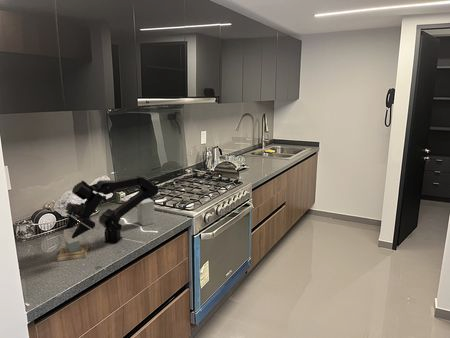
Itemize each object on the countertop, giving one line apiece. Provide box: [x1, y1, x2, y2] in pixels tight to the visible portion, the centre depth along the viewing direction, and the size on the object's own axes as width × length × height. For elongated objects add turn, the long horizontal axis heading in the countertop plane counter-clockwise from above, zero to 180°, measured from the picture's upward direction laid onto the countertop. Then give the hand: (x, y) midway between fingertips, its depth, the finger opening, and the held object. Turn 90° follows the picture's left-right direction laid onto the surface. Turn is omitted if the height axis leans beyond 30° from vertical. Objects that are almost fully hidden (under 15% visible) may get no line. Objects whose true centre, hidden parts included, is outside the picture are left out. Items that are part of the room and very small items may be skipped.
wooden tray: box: [57, 243, 89, 262], centre depth 151 cm, size 11×11×2 cm
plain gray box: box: [63, 226, 81, 253], centre depth 150 cm, size 4×4×10 cm
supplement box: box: [136, 198, 156, 227], centre depth 185 cm, size 7×7×13 cm
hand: (68, 235), depth 148 cm, fingers open, 9 cm apart
